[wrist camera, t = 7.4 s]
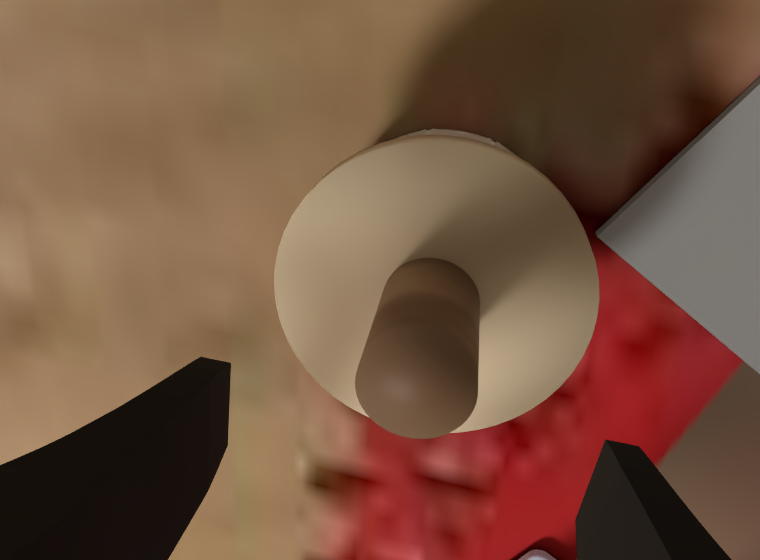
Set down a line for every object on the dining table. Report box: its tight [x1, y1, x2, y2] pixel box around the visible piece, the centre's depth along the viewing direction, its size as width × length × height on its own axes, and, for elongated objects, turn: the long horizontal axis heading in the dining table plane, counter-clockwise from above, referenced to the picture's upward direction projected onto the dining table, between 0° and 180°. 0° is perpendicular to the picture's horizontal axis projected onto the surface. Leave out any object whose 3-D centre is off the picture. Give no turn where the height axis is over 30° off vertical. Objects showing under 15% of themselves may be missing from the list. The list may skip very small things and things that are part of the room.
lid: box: [274, 135, 599, 439], centre depth 16 cm, size 9×9×5 cm
